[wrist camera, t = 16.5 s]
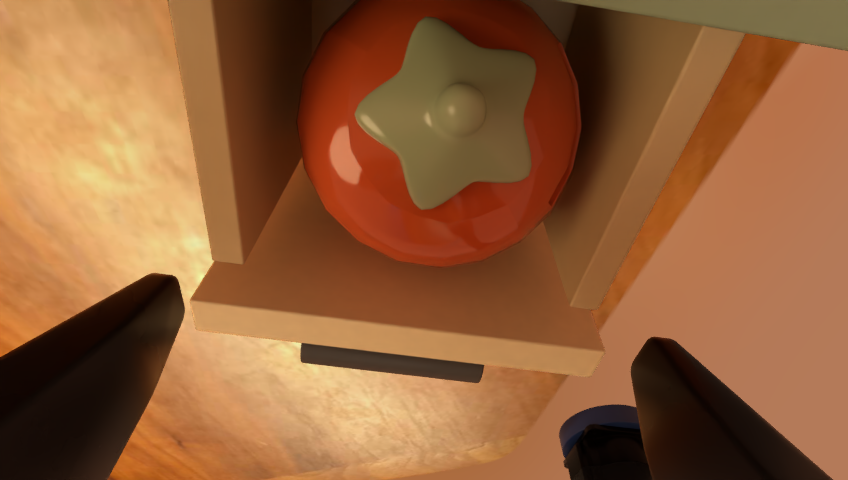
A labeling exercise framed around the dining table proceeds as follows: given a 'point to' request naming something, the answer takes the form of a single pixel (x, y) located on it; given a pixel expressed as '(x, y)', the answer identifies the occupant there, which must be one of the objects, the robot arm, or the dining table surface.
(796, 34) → the cabinet
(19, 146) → the dining table surface
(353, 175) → the tomato
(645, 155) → the drawer
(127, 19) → the dining table surface
